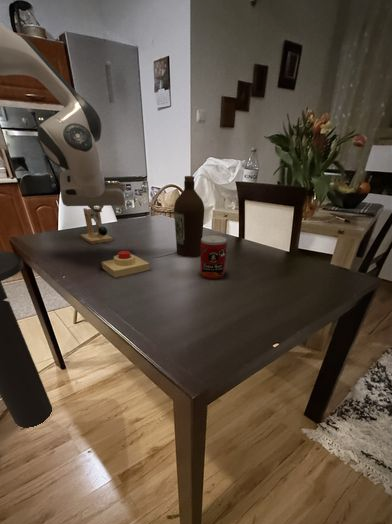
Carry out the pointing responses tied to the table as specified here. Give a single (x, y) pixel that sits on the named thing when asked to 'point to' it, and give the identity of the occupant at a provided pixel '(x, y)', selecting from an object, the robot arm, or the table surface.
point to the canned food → (213, 256)
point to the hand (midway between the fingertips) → (97, 210)
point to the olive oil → (189, 220)
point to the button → (124, 254)
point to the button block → (125, 266)
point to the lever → (98, 223)
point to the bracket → (92, 236)
